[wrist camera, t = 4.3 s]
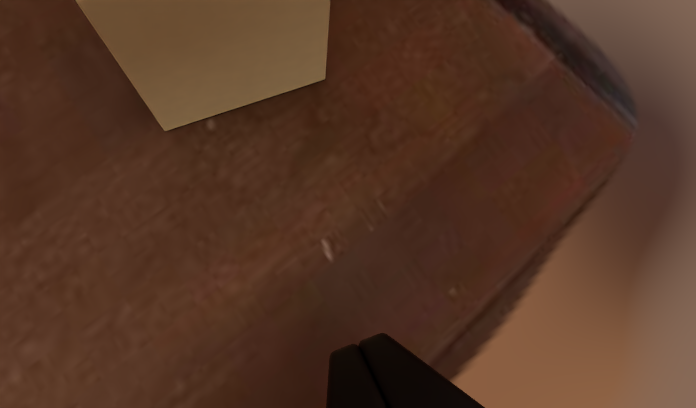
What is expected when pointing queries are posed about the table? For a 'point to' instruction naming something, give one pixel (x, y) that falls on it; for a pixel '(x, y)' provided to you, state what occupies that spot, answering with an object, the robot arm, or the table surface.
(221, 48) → the cake slice
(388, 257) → the table surface
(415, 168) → the table surface
